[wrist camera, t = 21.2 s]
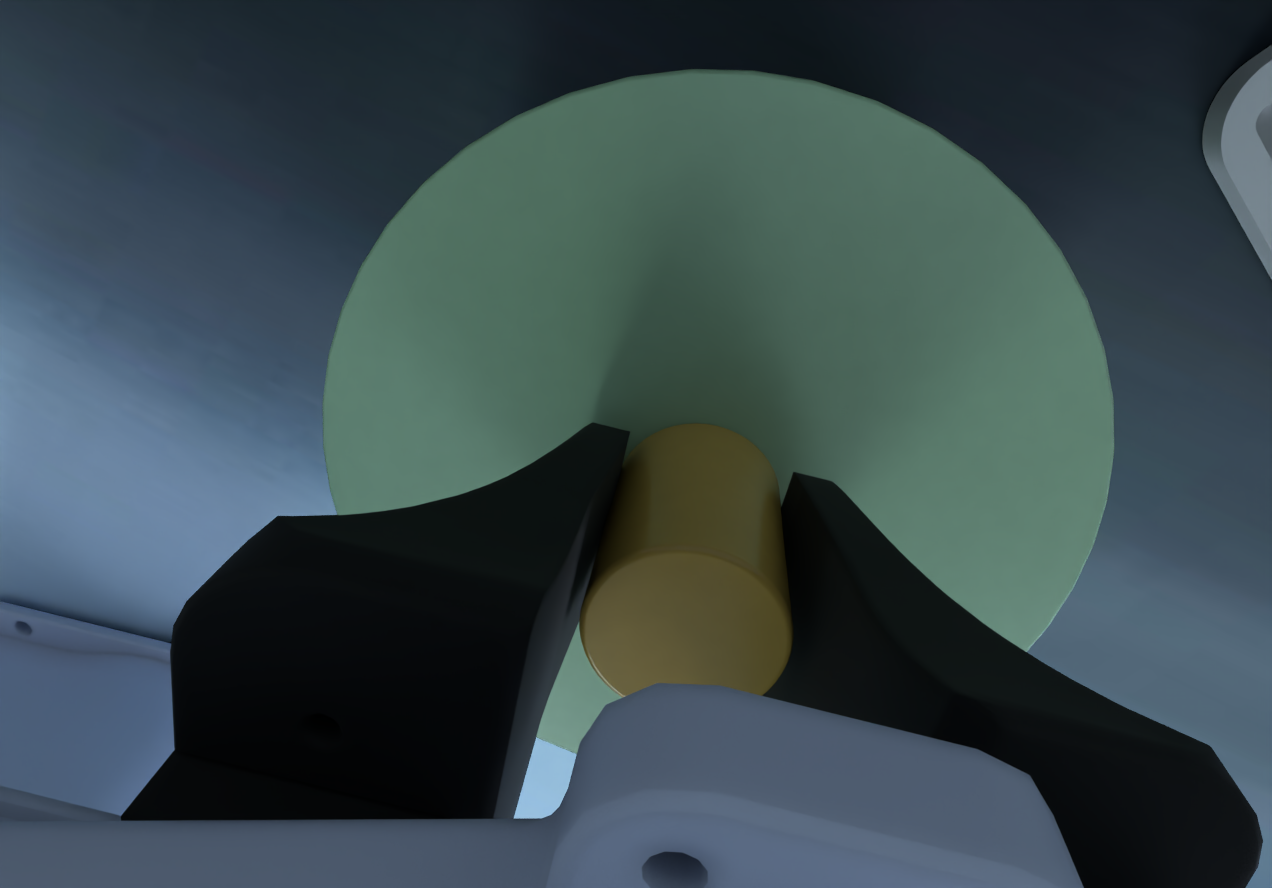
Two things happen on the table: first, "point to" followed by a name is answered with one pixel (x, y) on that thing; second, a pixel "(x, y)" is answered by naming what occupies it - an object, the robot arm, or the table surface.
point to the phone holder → (1245, 149)
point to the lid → (731, 362)
